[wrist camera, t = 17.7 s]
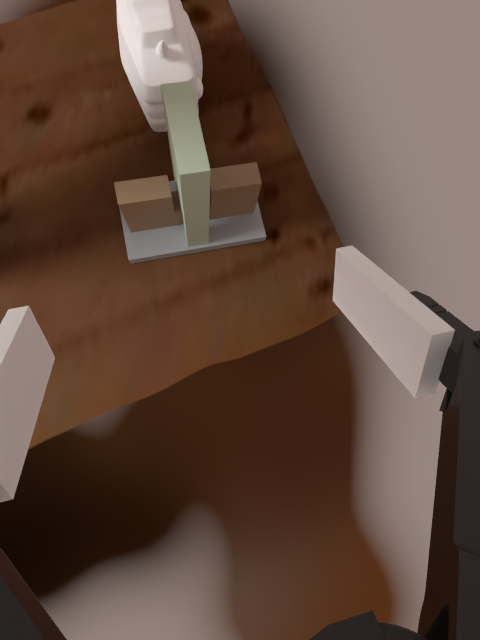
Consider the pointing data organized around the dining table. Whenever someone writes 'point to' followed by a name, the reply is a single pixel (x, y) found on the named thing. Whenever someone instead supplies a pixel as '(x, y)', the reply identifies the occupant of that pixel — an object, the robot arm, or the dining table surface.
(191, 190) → the green plank
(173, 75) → the white ridged rounded piece
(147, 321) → the dining table surface
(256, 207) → the brown grey slotted block
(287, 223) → the dining table surface
